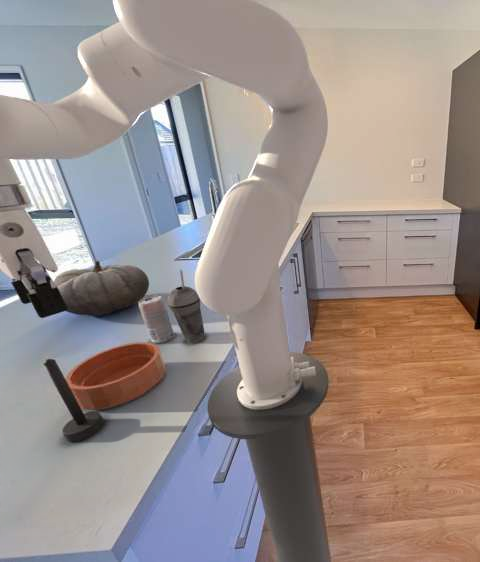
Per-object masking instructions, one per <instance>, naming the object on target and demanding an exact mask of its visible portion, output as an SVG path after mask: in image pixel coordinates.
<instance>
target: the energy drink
mask: <svg viewBox="0 0 480 562" xmlns="http://www.w3.org/2000/svg"><path fill="white" fill-rule="evenodd" d="M138 308H139V310H140V314H141V316H142V319H143V322H144V324H145V327H146V330H147V332H148V335H149V339H150V341H151V343H153V344H163V343H166V342H168V341H170V340H171V339H173V338H174V336H175V331H174V329H173V326H172V323H171V319H170V316H169V313H168V311H167V308H166V305H165V301H164V299H163V298H162V296H161V295H151V296H147V297H143V298H142V299H141V300H140V301H138Z"/></svg>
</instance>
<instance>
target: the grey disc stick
mask: <svg viewBox="0 0 480 562" xmlns="http://www.w3.org/2000/svg"><path fill="white" fill-rule="evenodd" d="M43 367H44V368H45V370H46V372H47V373H48V375H49V377H50V379H51V382H52V383H53V384H54V386H55V388H56V390H57V392H58V394H59V395H60V397H61V399H62V401H63V403H64V405H65V406H66V408H67V410H68V412H69V414H70V416H71V417H72V419H71V420H69V421H68V422H67V423H65V424H64V426H63V427H62V430H61V433H62V434H63V436H64V438H65V440H66V441H67V442H69V443H79V442H83V441H85V440H87V439H89V438H91V437H93V436H95V434H97V433H98V432H99V431H100V430H102V429H103V427H104V425H105V420H104V418H103V416H102V414H101V413H100V412H99V411H98V410H90V411H87V412H83V409H82V408H80V406H79V404H78V402H77V400H76V398H75V396H74V395H73V393H72V391H71V389H70V387H69V385H68V383H67V381H66V377H65V376H64V373H63V371H62V370H61V369H60V366H59V365H58V362H57V361H56V359H54V358H47V359H45V360H44V361H43Z"/></svg>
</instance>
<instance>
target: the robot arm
mask: <svg viewBox="0 0 480 562" xmlns="http://www.w3.org/2000/svg"><path fill="white" fill-rule="evenodd" d="M112 5H113V9H114V12H115V16H116V17H117V19H118V22H116V23H114V24H112V25H110V26H108V27H106V28H105V29H103V30H101V31H99V32H97V33H95V34H93V35H91V36H89V37H87V38H85V39H84V40H81V42H79V44H78V45H77V57H78V60H79V62H80V65H81V67H82V69H83V70H84V73H86V75H87V76H88V77H87V80H86V82H85V83H84V84H83V85H82V86H81V87H80V88H79V89H77V90H76V91H74V92H72V93H70V94H69V95H67V96H65V97H62V98H60V99H59V100H57V101H54V102H52V103H45V102H41V101H36V100H31V99H25V98H20V97H15V96H14V97H13V96H8V95H3V94H0V270H1V272H2V273H4V275H6V276H8V278H9V279H10V280H11V282H10V283H11V286H12V287H13V289H14V291H15V292H16V294H17V297H18V298H19V300H20V302H21V303H22V304H23V305H27V304H31V305H32V306H33V309H34V311H35V313H36V315H37V316H38V317H39V318H41V319H44V318H47V317H50V316H54V315H57V314H61V313H63V312H66V310H67V306H66V304H65V302H64V300H63V298H62V296H61V293H60V291H59V289H58V287H56V285H55V283H54V280H53V279H52V277H51V276H50V274H49V273H48V272H52V273H56V272H58V270H59V267H58V264H57V262H56V261H55V259H54V257H53V255H52V253H51V251H50V249H49V248H48V245H47V244H46V242H45V240H44V238H43V236H42V234H41V232H40V230H39V229H38V226H37V225H36V223H35V221H34V220H33V218H32V216H31V215H30V213H29V212H28V209H29V208H32V207H34V204H33V203H32V201H31V199H30V197H29V194H28V192H27V190H26V188H25V186H24V184H23V181H22V178H21V177H20V174H19V172H18V171H17V168H16V166H15V163H14V161H13V160H17V161H18V160H23V161H24V160H27V161H28V160H32V161H33V160H35V161H37V160H73V159H74V160H75V159H77V158H81V157H85V156H87V155H89V154H92V153H94V152H96V151H97V150H99V149H102V148H104V147H106V146H107V145H110V144H111V143H113V142H115V141H117V140H118V139H120V138H121V137H123V136H124V135H125V134H126V133H127V132H128V131H129V130H130V129H131V128H132V127H133V126H134V125H135V124H136V122H137V121H138V120H139V118H140V117H141V115H143V114H144V113H145V112H147V111H149V110H150V109H152V108H155V107H156V106H158V105H160V104H162V103H163V102H165V101H168V100H169V99H171V98H174V97H175V96H177V95H179V94H180V93H182V92H185V91H187V90H189V89H190V88H192V87H195V86H197V85H198V84H200V83H203V82H205V81H206V80H208V79H210V78H211V77H212V78H215V79H217V80H219V81H223V82H225V83H228V84H231V85H233V86H236V87H239V88H242V89H243V90H247V91H248V92H251V93H254V94H255V95H256V96H257V97H258V98H259V99H261V100H262V101H263V102H264V103H265V104H266V105H267V106H268V107H269V109H270V112H271V120H270V123H269V126H268V129H267V131H266V133H265V135H264V137H263V139H262V142H261V144H260V148H259V151H258V154H257V157H256V159H255V161H254V163H253V167H252V169H251V170H250V173H249V175H248V177H247V178H246V179H245V178H244V179H243V180H240V181H238V182H237V183H235V184H233V186H231V188H229V190H228V191H227V192H226V193H225V194H224V196H223V197H222V199H221V201H220V203H219V205H218V207H217V209H216V212H215V215H214V218H213V221H212V223H211V226H210V229H209V231H208V234H207V238H206V239H205V243H204V246H203V249H202V251H201V254H200V257H199V260H198V263H197V266H196V269H195V273H194V287H195V288H194V289H195V291H196V292H197V294H198V296H199V298H200V302H202V303H203V305H204V306H205V307H207V308H208V309H210V310H211V311H213V312H214V313H217V314H220V315H225V316H227V321H228V324H229V328H230V329H229V330H230V334H231V337H232V341H233V346H234V349H235V354H236V357H237V362H238V366H240V370H241V374H242V381H241V382H240V384H239V386H238V389H237V396H238V399H239V401H240V403H241V404H242V405H244V406H245V407H247V408H250V409H255V410H264V409H270V408H274V407H277V406H279V405H282V404H283V403H285V402H287V401H288V400H290V399H291V398H293V397H294V396H295V395H296V394H297V392H298V391H299V389H300V387H301V385H302V378H305V377H307V378H308V377H313V376H316V372H315V367H309V362H303V363H299V364H297V363H294V357H291V356H290V352H291V351H290V345H289V338H288V332H287V325H286V320H285V310H284V305H283V297H282V289H281V288H282V287H281V276H280V275H281V274H280V265H279V263H280V261H281V258H282V256H283V253H284V251H285V249H286V247H287V245H288V242H289V240H290V238H291V236H292V233H293V232H294V229H295V226H296V225H297V223H298V218H299V215H300V210H301V207H302V204H303V201H304V199H305V197H306V194H307V191H308V190H309V187H310V185H311V183H312V180H313V177H314V175H315V172H316V169H317V167H318V165H319V162H320V159H321V158H322V154H323V151H324V148H325V146H326V141H327V137H328V128H329V119H328V109H327V104H326V101H325V97H324V95H323V92H322V90H321V88H320V86H319V84H318V81H317V79H316V78H315V76H314V74H313V72H312V70H311V67H310V63H309V58H308V54H307V50H306V46H305V45H304V42H303V39H302V38H301V36H300V34H299V33H298V31H297V29H296V28H295V27H294V26H293V25H292V24H291V23H290V21H289V20H288V19H286V18H285V17H284V16H283V15H281V14H280V13H278V12H277V11H276V10H274V9H272V8H270V7H268V6H267V5H264V4H261V3H259V2H257V1H255V0H112ZM300 369H301V370H300Z"/></svg>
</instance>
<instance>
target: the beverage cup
mask: <svg viewBox="0 0 480 562" xmlns="http://www.w3.org/2000/svg"><path fill="white" fill-rule="evenodd" d="M179 274H180V275H179V276H180V282H181V285H180V286H177V287H175V288H173V290H171V291H170V293H169V295H168V297H167V303H168V304H167V305H168V307H169V309H170V311H171V313H172V314H173V315H174V318H175V320H176V323H177V325H178V327H179V329H180V331H181V334H182V336H183V338H184V340H185V341H186V343H187V344H188V345H189V344H191V345H193V344H197V343H200V342H202V341H203V340H205V338H206V336H205V335H206V334H205V327H204V321H203V316H202V310H201V309H202V308H201V299H200V298H199V296H198V294H197V291H196V289H195V288H192V287H190V286H186V285H185V282H184V275H183V270H182V269H179Z"/></svg>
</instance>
